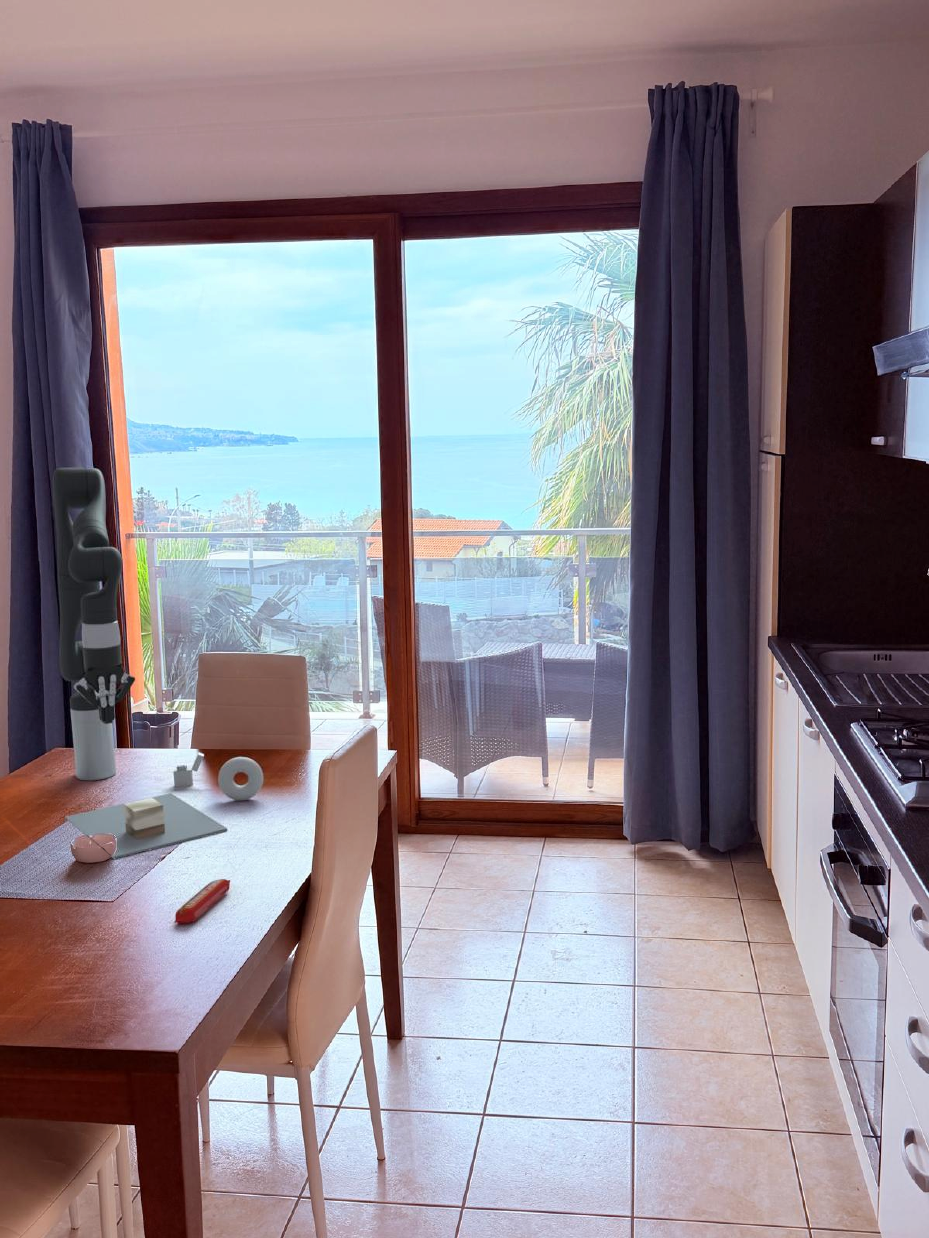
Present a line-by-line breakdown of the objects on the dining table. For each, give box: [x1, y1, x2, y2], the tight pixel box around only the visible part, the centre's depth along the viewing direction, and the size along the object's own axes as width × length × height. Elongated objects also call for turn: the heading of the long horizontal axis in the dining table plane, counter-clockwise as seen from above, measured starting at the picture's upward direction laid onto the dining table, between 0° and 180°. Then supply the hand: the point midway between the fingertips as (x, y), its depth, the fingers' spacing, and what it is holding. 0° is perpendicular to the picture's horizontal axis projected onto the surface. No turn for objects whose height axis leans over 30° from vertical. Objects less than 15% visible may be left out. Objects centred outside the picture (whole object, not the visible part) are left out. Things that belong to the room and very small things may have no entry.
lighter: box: [172, 752, 205, 788], centre depth 258 cm, size 7×2×8 cm, turn 100°
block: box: [123, 797, 165, 840], centre depth 227 cm, size 6×6×6 cm
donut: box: [217, 756, 264, 802], centre depth 247 cm, size 10×3×10 cm, turn 97°
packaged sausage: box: [173, 878, 231, 925], centre depth 191 cm, size 16×4×3 cm, turn 166°
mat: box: [64, 792, 228, 860], centre depth 233 cm, size 30×24×1 cm
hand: (107, 722), depth 233 cm, fingers closed
